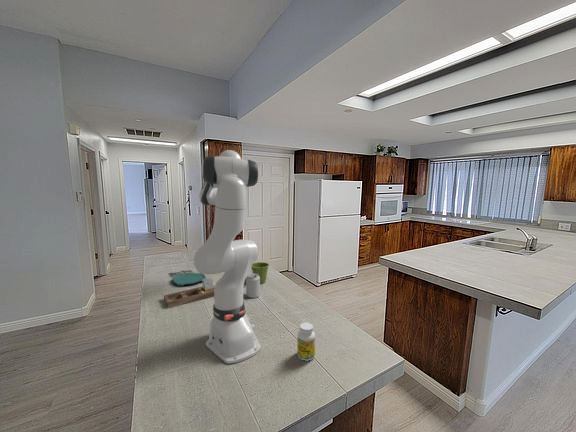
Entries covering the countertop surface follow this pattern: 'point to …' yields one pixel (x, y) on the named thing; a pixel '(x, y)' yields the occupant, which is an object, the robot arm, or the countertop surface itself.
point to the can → (253, 285)
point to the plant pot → (260, 270)
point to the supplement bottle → (306, 342)
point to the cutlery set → (187, 278)
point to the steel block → (207, 284)
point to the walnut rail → (187, 296)
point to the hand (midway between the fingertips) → (224, 232)
